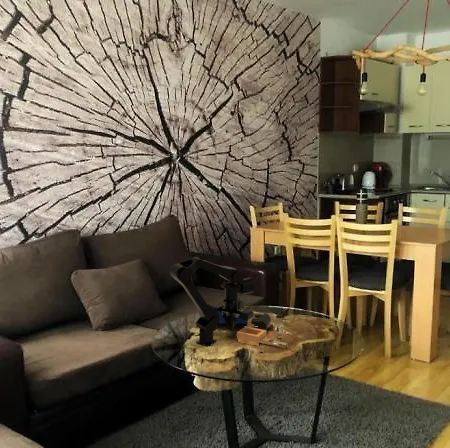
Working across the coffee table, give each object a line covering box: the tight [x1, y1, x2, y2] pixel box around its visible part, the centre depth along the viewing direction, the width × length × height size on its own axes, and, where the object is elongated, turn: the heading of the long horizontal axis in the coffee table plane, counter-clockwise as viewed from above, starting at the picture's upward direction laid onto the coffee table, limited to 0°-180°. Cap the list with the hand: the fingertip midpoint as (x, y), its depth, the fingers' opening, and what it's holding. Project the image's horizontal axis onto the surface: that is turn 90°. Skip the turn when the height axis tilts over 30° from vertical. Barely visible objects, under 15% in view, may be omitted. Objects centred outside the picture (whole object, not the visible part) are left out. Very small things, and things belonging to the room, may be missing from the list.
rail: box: [236, 331, 288, 349], centre depth 236 cm, size 18×23×2 cm
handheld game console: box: [217, 311, 249, 328], centre depth 257 cm, size 16×13×9 cm
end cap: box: [250, 312, 272, 331], centre depth 250 cm, size 10×7×7 cm
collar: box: [236, 326, 268, 342], centre depth 238 cm, size 8×10×4 cm
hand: (231, 330), depth 243 cm, fingers closed
